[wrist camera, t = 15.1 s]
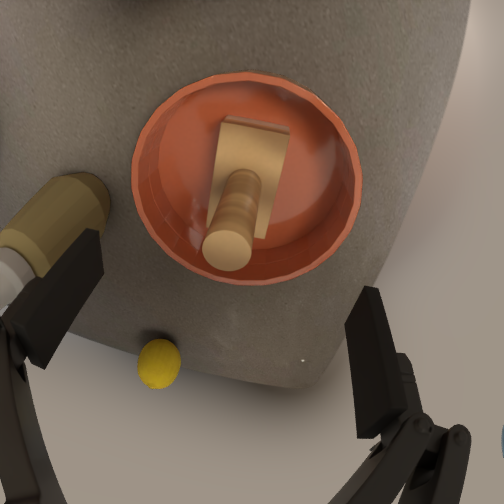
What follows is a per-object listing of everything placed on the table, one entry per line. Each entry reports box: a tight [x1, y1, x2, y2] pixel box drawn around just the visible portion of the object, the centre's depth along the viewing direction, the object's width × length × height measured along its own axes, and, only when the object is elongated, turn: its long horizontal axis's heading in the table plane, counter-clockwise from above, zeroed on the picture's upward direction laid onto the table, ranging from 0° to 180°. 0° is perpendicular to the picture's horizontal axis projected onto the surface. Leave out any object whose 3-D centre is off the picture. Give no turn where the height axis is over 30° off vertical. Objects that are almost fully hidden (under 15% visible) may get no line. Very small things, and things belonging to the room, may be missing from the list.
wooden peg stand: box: [202, 115, 290, 271], centre depth 22 cm, size 9×5×12 cm, turn 169°
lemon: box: [137, 339, 181, 389], centre depth 39 cm, size 6×6×8 cm
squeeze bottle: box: [0, 172, 111, 310], centre depth 23 cm, size 8×8×18 cm
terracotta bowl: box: [131, 70, 363, 285], centre depth 25 cm, size 17×17×6 cm
